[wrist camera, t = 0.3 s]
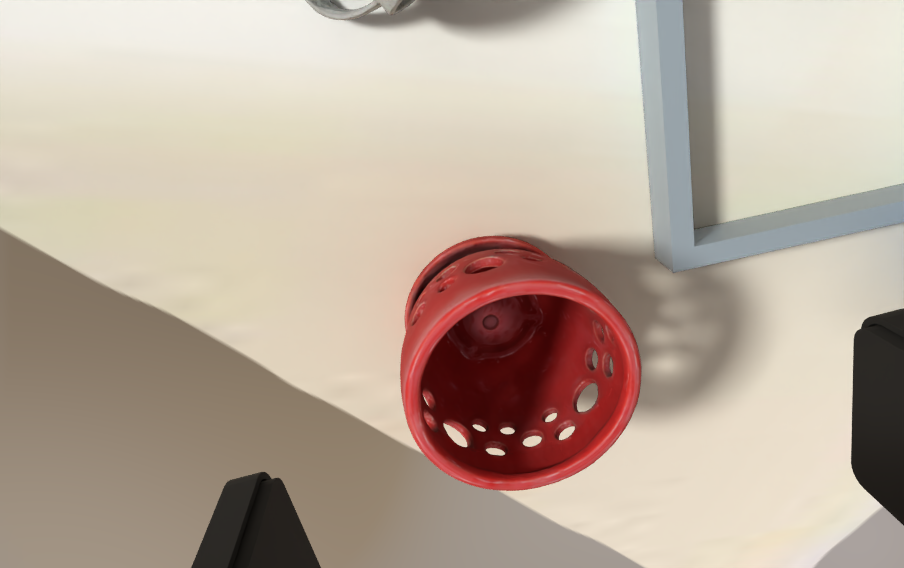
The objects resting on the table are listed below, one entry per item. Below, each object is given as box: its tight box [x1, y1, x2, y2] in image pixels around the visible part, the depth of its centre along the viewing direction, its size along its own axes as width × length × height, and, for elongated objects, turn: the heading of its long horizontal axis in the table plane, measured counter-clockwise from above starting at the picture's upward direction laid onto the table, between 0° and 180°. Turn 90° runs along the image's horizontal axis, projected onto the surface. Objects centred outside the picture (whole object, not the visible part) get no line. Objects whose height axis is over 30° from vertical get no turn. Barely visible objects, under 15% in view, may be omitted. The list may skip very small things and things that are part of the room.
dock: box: [636, 0, 904, 273], centre depth 37 cm, size 18×20×3 cm
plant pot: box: [400, 236, 641, 491], centre depth 36 cm, size 13×13×12 cm
